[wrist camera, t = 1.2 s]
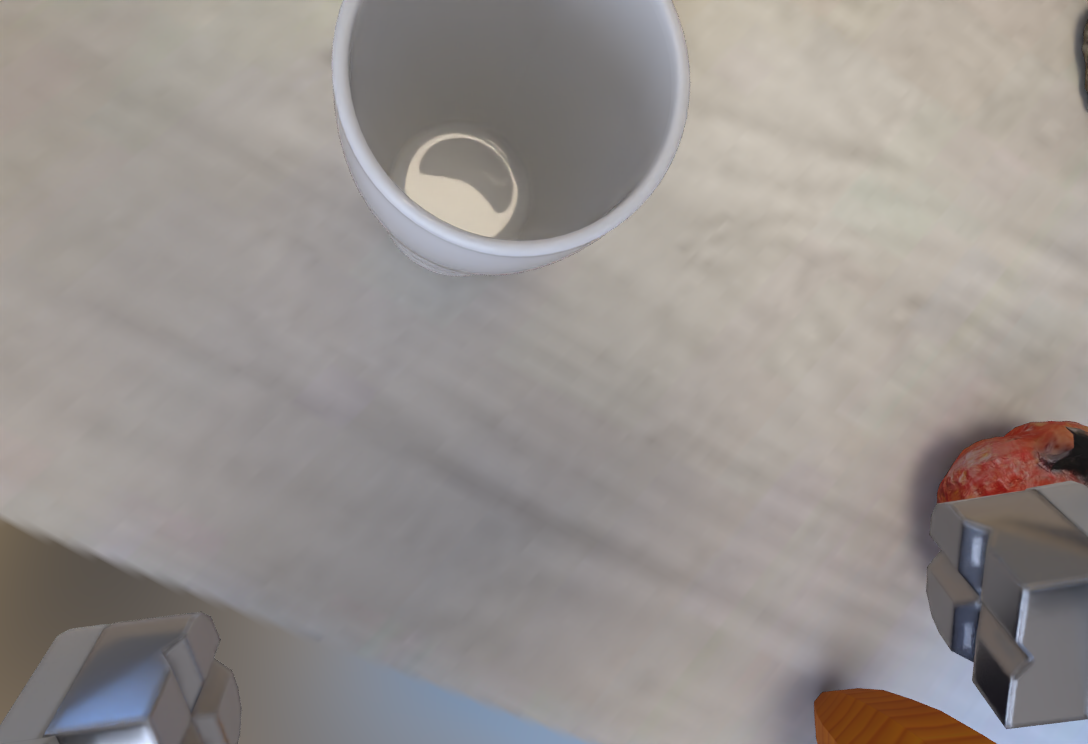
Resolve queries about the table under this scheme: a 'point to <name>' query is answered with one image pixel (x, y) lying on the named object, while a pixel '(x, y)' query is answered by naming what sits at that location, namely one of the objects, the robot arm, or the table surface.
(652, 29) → the white cup
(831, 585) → the table surface
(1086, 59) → the bread roll
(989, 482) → the pomegranate
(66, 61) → the table surface
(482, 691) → the table surface
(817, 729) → the carrot
